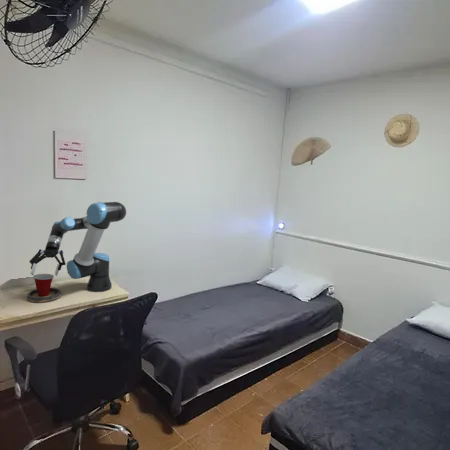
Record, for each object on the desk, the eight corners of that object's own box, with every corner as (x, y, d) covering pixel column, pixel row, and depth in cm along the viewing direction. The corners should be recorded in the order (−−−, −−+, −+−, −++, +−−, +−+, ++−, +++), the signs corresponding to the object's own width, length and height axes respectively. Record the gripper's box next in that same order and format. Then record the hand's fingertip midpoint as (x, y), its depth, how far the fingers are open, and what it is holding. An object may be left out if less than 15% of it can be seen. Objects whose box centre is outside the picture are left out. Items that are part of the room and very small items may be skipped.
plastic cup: (57, 295, 198) (56, 276, 196) (37, 299, 190) (37, 279, 188) (49, 290, 205) (49, 271, 203) (30, 294, 197) (30, 274, 195)
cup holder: (66, 291, 207) (66, 287, 207) (54, 303, 189) (54, 299, 189) (35, 290, 205) (35, 286, 205) (20, 302, 187) (20, 298, 187)
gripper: (75, 247, 213) (67, 277, 201) (34, 246, 210) (24, 276, 198) (72, 241, 207) (64, 272, 195) (30, 240, 204) (19, 270, 192)
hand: (43, 274), depth 196 cm, fingers open, 13 cm apart
